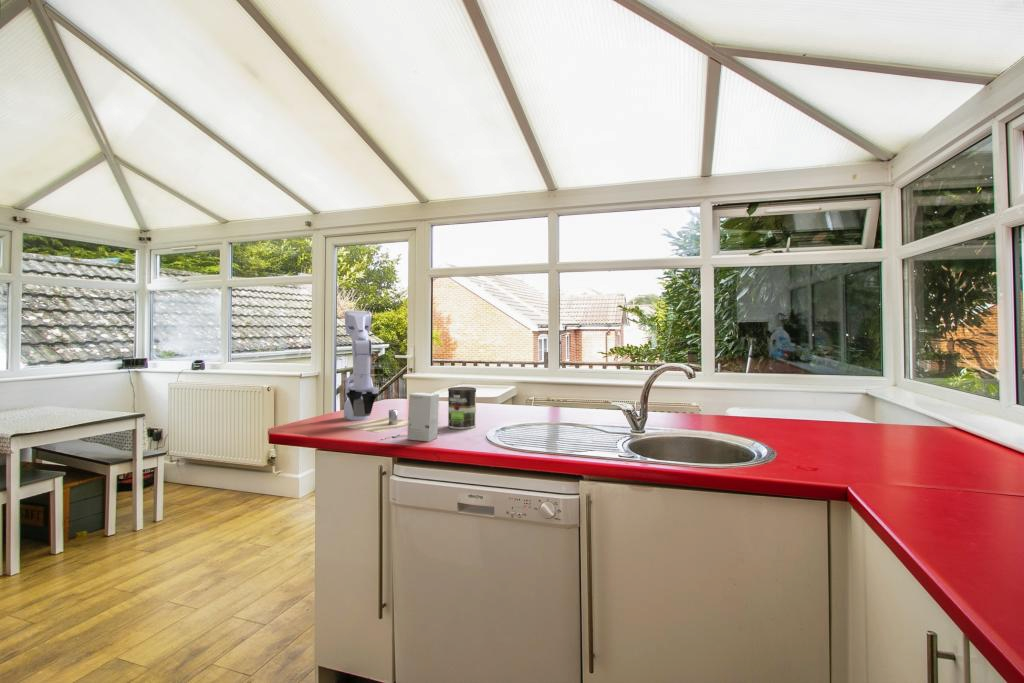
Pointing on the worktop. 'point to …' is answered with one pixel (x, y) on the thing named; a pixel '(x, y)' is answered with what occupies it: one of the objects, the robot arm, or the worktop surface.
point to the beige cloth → (377, 425)
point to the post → (392, 417)
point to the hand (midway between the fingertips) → (362, 412)
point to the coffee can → (461, 407)
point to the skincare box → (423, 416)
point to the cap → (359, 408)
